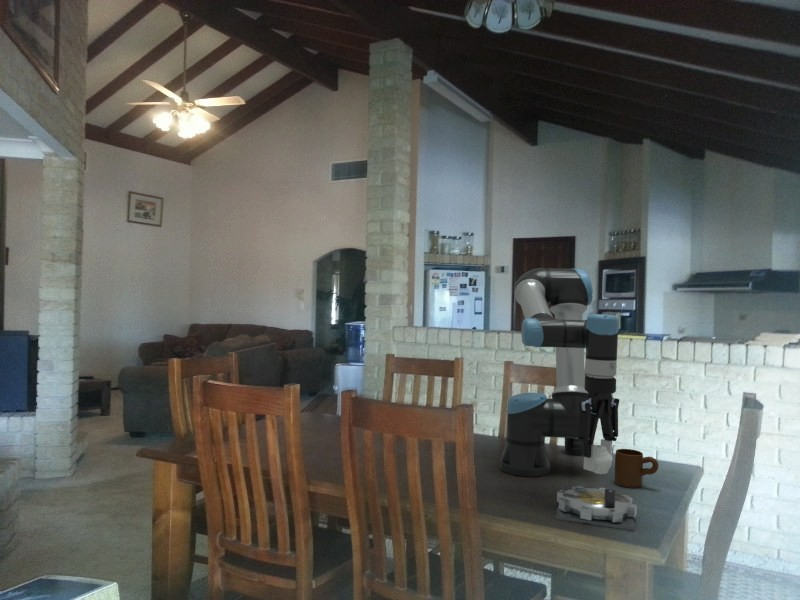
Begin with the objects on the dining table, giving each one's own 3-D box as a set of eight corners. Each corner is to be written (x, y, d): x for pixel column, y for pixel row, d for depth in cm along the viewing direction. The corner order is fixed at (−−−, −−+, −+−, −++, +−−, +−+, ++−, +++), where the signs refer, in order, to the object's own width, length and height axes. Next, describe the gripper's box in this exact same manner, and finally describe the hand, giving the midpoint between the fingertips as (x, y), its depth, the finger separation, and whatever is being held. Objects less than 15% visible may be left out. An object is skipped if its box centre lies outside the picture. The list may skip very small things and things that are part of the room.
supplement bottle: (587, 452, 211) (588, 418, 211) (581, 457, 205) (582, 421, 205) (567, 449, 215) (568, 415, 215) (561, 453, 209) (562, 418, 209)
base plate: (555, 518, 149) (555, 514, 149) (562, 495, 166) (562, 491, 166) (634, 530, 143) (634, 526, 143) (633, 505, 160) (633, 501, 160)
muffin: (600, 478, 150) (598, 449, 149) (582, 471, 155) (580, 444, 155) (619, 472, 152) (617, 444, 152) (600, 466, 158) (599, 439, 157)
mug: (661, 487, 175) (662, 455, 175) (653, 494, 170) (654, 460, 169) (619, 478, 183) (621, 447, 183) (610, 484, 177) (611, 451, 177)
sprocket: (581, 524, 143) (582, 497, 143) (543, 496, 161) (544, 472, 161) (652, 519, 147) (653, 493, 147) (608, 493, 166) (609, 469, 166)
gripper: (590, 380, 145) (586, 478, 145) (635, 375, 156) (632, 465, 157) (564, 376, 151) (560, 470, 151) (609, 371, 162) (606, 458, 163)
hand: (597, 467), depth 154 cm, fingers closed on muffin, 6 cm apart
